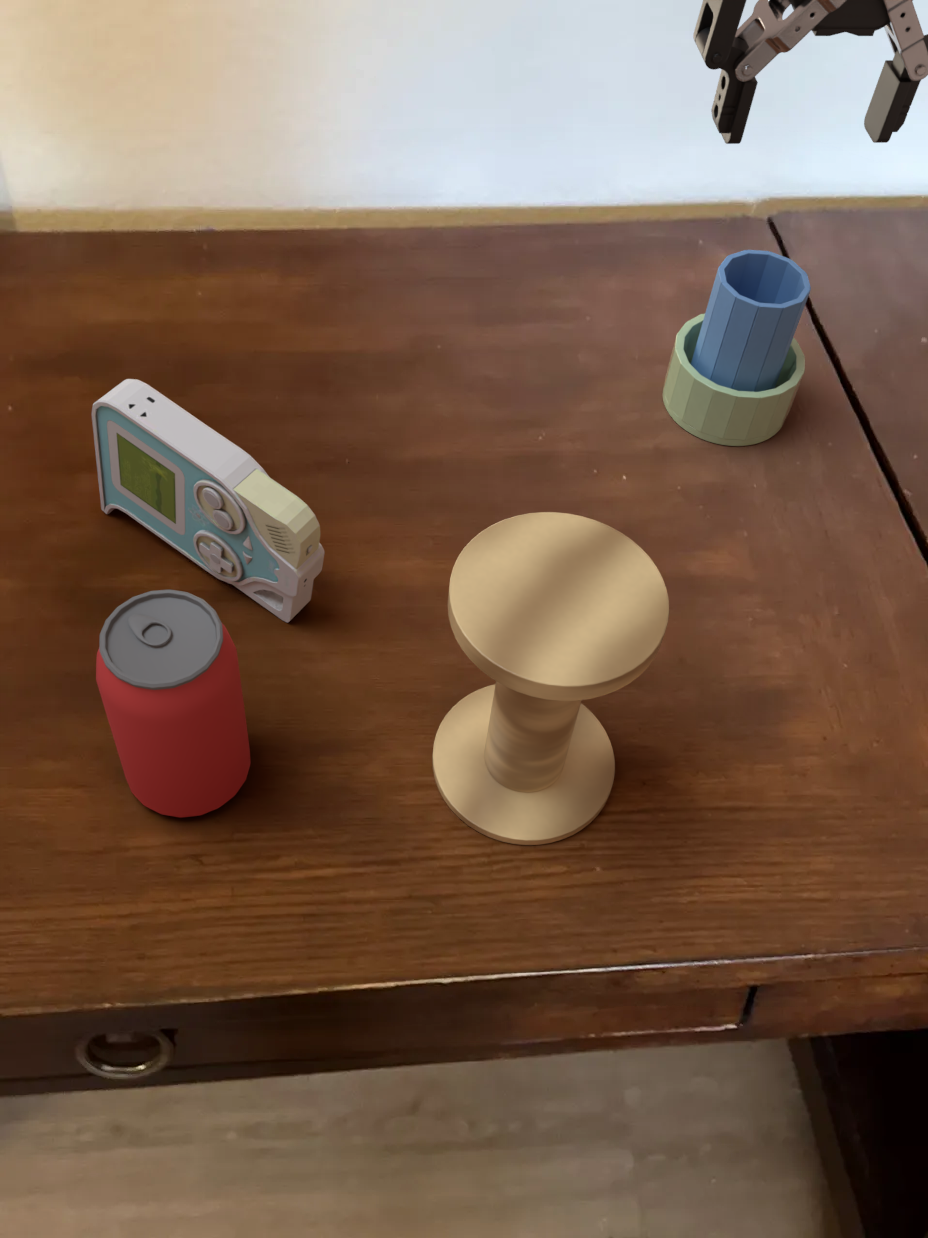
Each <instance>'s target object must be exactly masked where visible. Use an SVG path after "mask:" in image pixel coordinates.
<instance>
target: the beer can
mask: <svg viewBox="0 0 928 1238" xmlns="http://www.w3.org/2000/svg"><path fill="white" fill-rule="evenodd" d="M98 644H99V647H98V650H97V652H96V662H95V668H96V669H95V682H96V684H97V688H98V691H99V694H100V697H101V701H102V704H103V708H104V711H105V715H106V718H107V721H108V724H109V727H110V731H111V734H112V738H113V740H114V744H115V747H116V751H117V754H118V757H119V761H120V764H121V768H122V771H123V774H124V778H125V781H126V783H127V784H128V788H129V790H130V792H131V794H132V795H133V796H134V797H135V798H136V799H137V801H139V802H140V803H141V804H142V805H143V806H144V807H146V808H148V809H150V810H152V811H153V812H156V813H158V814H159V815H163V816H168V817H169V816H170V817H175V818H180V819H182V818H191V817H197V816H199V817H200V816H203V815H205V814H207V813H210V812H213V811H215V810H218V809H219V808H221V807H222V806H224V805H225V804H227V803H228V802H229V801H230V800H232V799H233V798H234V797H235V796H236V795H237V793H238V792H239V791H240V789H241V788H242V787H243V785H244V784H245V782H246V781H247V779H248V774H249V771H250V767H251V764H252V763H251V749H250V748H251V747H250V739H249V731H248V725H247V718H246V710H245V703H244V696H243V695H244V694H243V687H242V680H241V673H240V665H239V664H240V663H239V657H238V651H237V646H236V645H235V642H234V641H233V639H232V637H231V635H230V633H229V631H228V629H227V627H226V625H225V624H224V623H223V622H222V621H221V619H220V617H219V614H218V612H217V611H216V609H214V608H213V606H211V605H210V604H209V603H208V602H207V601H206V600H205V599H204V598H202V597H200V596H196V595H194V594H192V593H190V592H188V591H182V590H176V589H160V590H159V589H157V590H150V591H147V592H144V593H140V594H138V595H134V596H132V597H131V598H129V599H127V600H125V601H124V602H123V603H121V604H120V605H117V606H116V607H115V609H114V610H113V611H112V612H111V613H110V615H109V616H107V618H106V619H105V621H104V623H103V626H102V628H101V631H100V633H99V643H98Z"/></svg>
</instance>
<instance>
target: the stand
mask: <svg viewBox="0 0 928 1238" xmlns="http://www.w3.org/2000/svg"><path fill="white" fill-rule="evenodd" d="M448 585H449V587H448V596H447V616H448V621H449V626H450V628H451V631H452V633H453V635H454V636H453V637H454V639H455V640H456V642H457V644H458V645H459V647H460V649H461V650H462V652H463V653H464V654H465V655H466V657H467V658H468V659H469V661H471V662H472V663H473V664H474V666H475V667H477V669H479V670H480V671H481V672H483V674H485V675H487V676H488V677H489V678H490V679H492V680H493V681H495V683H494V684H491V685H487V686H484V687H482V688H479V689H476V690H475V691H473V692H471V693H468V694H467V695H466V696H464V697H463V698H462V699H460V700H459V701H457V702H456V704H454V706H452V707H451V708H450V710H449V711H448V712H447V713H446V714H445V716H444V717H443V719H442V721H441V722H440V724H439V726H438V728H437V731H436V732H435V737H434V740H433V745H432V746H433V747H432V748H433V749H432V756H431V760H432V761H431V762H432V763H431V764H432V772H433V773H432V774H433V778H434V782H435V784H436V786H437V790H438V791H439V794H440V795H441V797H442V799H443V801H444V802H445V803H446V805H447V807H448V808H449V810H451V811H452V812H453V814H455V815H456V817H457V818H458V819H459V820H460V821H462V822H463V823H464V824H466V825H467V826H468V827H470V828H471V829H473V830H474V831H476V832H477V833H480V834H482V835H483V836H486V837H488V838H490V839H493V840H496V841H498V842H501V843H502V842H503V843H506V844H507V843H508V844H511V845H519V846H521V845H522V846H539V845H547V844H551V843H555V842H559V841H562V840H564V839H567V838H569V837H572V836H574V835H575V834H577V833H579V832H580V831H582V830H583V829H584V828H586V827H588V826H589V825H590V824H592V821H594V820H595V819H596V817H598V816H599V814H600V813H601V811H602V810H603V808H604V807H605V806H606V803H607V801H608V799H609V797H610V794H611V791H612V788H613V784H614V781H615V780H614V779H615V776H616V775H615V774H616V760H615V754H614V749H613V745H612V743H611V740H610V738H609V736H608V733H607V731H606V729H605V728H604V726H603V725H602V723H601V722H600V720H599V719H598V718H597V717H596V715H595V714H594V713H593V712H592V711H591V710H590V709H589V708H588V707H587V706H586V705H584V704H583V703H582V701H585V700H591V699H595V698H599V697H604V696H607V695H609V694H611V693H614V692H617V691H619V690H621V689H622V688H625V687H626V686H628V685H630V684H631V683H633V682H634V681H635V680H637V678H639V677H640V676H641V675H642V674H643V673H644V672H645V671H646V670H647V669H648V668H649V667H650V665H651V664H652V663H653V661H654V660H655V658H656V656H657V654H658V653H659V650H660V648H661V646H662V643H663V641H664V637H665V634H666V630H667V628H668V625H669V619H670V598H669V594H668V590H667V589H668V588H667V586H666V584H665V581H664V578H663V575H662V574H661V572H660V570H659V568H658V567H657V565H656V564H655V563H654V560H653V559H652V558H651V556H649V554H648V553H646V551H644V549H643V548H642V547H641V546H640V545H638V544H637V543H636V542H635V541H634V540H633V539H631V538H630V537H628V536H627V535H626V534H624V533H622V532H621V531H619V530H617V529H616V528H613V527H612V526H611V525H610V526H609V525H608V524H606V523H603V522H602V521H599V520H596V519H592V518H589V517H586V516H582V515H577V514H573V513H568V512H567V513H566V512H556V511H539V512H529V513H524V514H518V515H514V516H512V517H508V518H505V519H502V520H500V521H498V522H496V523H494V524H492V525H490V526H488V527H487V528H484V529H483V530H482V531H480V532H479V533H478V534H476V536H474V537H473V538H472V539H471V540H470V541H469V542H468V543H467V544H466V546H464V548H463V549H462V550H461V552H460V553H459V555H458V556H457V558H456V560H455V562H454V565H453V567H452V570H451V573H450V577H449V584H448Z"/></svg>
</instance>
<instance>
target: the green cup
mask: <svg viewBox="0 0 928 1238" xmlns="http://www.w3.org/2000/svg"><path fill="white" fill-rule="evenodd" d="M704 316H705V312H704V313H700V314H698V315H696V316H694V317H693V318H690V319H689V320H687V321H685V323H684V324H683V325H682V327H680V329H679V331H678V332H677V333H676V335H675V339H674V343H673V347H672V350H671V354H670V357H669V361H668V365H667V369H666V372H665V376H664V383H663V387H662V391H661V392H662V400H663V405H664V408H665V410H666V411H667V413H668V414H669V416H670V417H671V418H672V420H673V421H674V422H675V423H676V424H677V425H678V426H679V427H681V428H682V429H683V430H685V431H686V432H687V433H689V434H691V435H692V436H694V437H696V438H699V439H701V440H703V441H705V442H709V443H712V444H715V445H721V446H729V447H744V446H746V447H747V446H752V445H757V444H760V443H762V442H765V441H767V440H769V439H770V438H773V436H775V435H776V434H777V433H778V432H780V430H781V429H782V427H783V426H784V424H785V422H786V419H787V417H788V416H789V413H790V411H791V408H792V406H793V403H794V400H795V398H796V395H797V392H798V390H799V388H800V385H801V383H802V379H803V377H804V374H805V369H806V357H805V354H804V352H803V350H802V348H801V346H800V344H799V341H798V340H797V339H796V338H795V337H793V339H792V342H791V345H790V348H789V350H788V353H787V356H786V359H785V361H784V364H783V367H782V370H781V372H780V375H779V378H778V381H777V383H776V386H775V389H770V390H765V391H760V392H751V391H737V390H734V389H731V388H727V387H724V386H720V385H717V384H716V383H714V382H712V381H711V380H709V379H707V378H705V377H704V376H702V375H700V373H699V372H698V371H697V370H696V369H695V368H694V367H693V366H692V365H691V361H692V358H693V354H694V351H695V347H696V344H697V340H698V337H699V333H700V330H701V326H702V323H703V319H704Z"/></svg>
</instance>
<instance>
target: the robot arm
mask: <svg viewBox="0 0 928 1238" xmlns="http://www.w3.org/2000/svg"><path fill="white" fill-rule="evenodd" d="M913 1H914V0H757V2H756V3H755V4H754V7H753V10H752V13H751V15H749V17H748V18H747V19H746V20H745V21H744V22H743V23H742V24H741V25H740V22H741V18H742V17H743V16H742V15H743V13H744V9H745V6H746V4H747V0H702V4H701V7H700V10H699V13H698V17H697V21H696V23H695V27H694V30H693V36H692V37H693V41H694V43H695V45H696V47H697V50H698V51H699V54H700V55H701V58H702V60H703V62H704V64H705V66H706V67H707V69H710V70H719V69H721V70H720V74H719V79H718V82H717V86H716V89H715V94H714V98H713V102H712V106H711V109H710V110H711V117H712V120H713V123H714V125H715V127H716V130H717V131H718V133H719V134H720V135H721V137H722V139H723V141H724V143H725V145H736V144H737V145H738V144H741V142H742V140H743V137H744V133H745V130H746V126H747V122H748V119H749V115H750V111H751V108H752V105H753V101H754V97H755V94H756V90H757V86H758V80H757V78H756V76H758V74H760V73H761V71H763V69H764V68H765V67H767V66H768V65H769V64H770V63H771V62H772V61H773V60H774V59H775V58H776V57H777V56H778V55H779V54H781V53H784V54H785V53H789V52H790V51H792V50H793V49H794V48H795V47H796V46H797V45H798V44H799V43H800V42H801V41H802V40H803V39H804V38H805V37H806V36H808V34H809V33H810V32H812V33H813V35H814V37H831V36H836V35H838V34H839V35H840V34H842V33H843V34H844V33H847V34H851V35H854V36H858V37H874V34H875V32H876V31H878V30H881V29H882V28H884V31H885V33H886V36H887V39H888V42H889V45H890V48H891V50H892V53H893V57H892V60H891V59H889V60H887V59H886V60H885V61H884V64H883V66H882V69H881V71H880V74H879V77H878V80H877V83H876V85H875V88H874V90H873V94H872V96H871V99H870V102H869V105H868V108H867V110H866V113H865V115H864V119H863V120H864V121H863V126H864V129H865V131H866V133H867V134H868V136H869V138H870V140H871V141H872V143H874V144H876V143H877V144H878V143H879V144H880V143H881V144H883V143H888V142H889V141H890V140H891V137H892V135H893V133H898V131H899V130H900V129H901V128H902V126H903V125H904V124H905V122H906V120H907V117H908V113H909V112H910V109H911V106H912V104H913V101H914V98H915V96H916V93H917V91H918V89H919V86H920V83H921V82H922V80H924V79H925V78H926V77H928V34H927V33H926V34H924V31H923V29H922V26H921V23H920V20H919V18H918V14H917V11H916V9H915V6H914V2H913ZM790 6H791V8H792V10H793V11H792V12H791V13H790V14H789V15H788V16H787V17H786V18H784V19H783V15H784V13H785V12H786V10H787V9H788V8H789V7H790ZM739 25H740V26H739Z"/></svg>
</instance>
